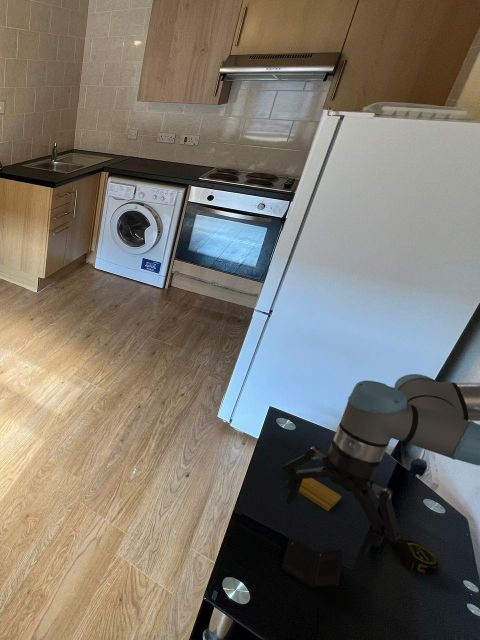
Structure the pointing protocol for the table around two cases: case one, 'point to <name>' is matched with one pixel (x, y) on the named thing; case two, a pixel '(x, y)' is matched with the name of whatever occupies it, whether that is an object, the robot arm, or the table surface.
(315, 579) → the dark brown faceted prism
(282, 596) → the table surface
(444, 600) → the table surface
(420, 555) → the tape measure
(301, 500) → the table surface
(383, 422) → the robot arm
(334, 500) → the block
